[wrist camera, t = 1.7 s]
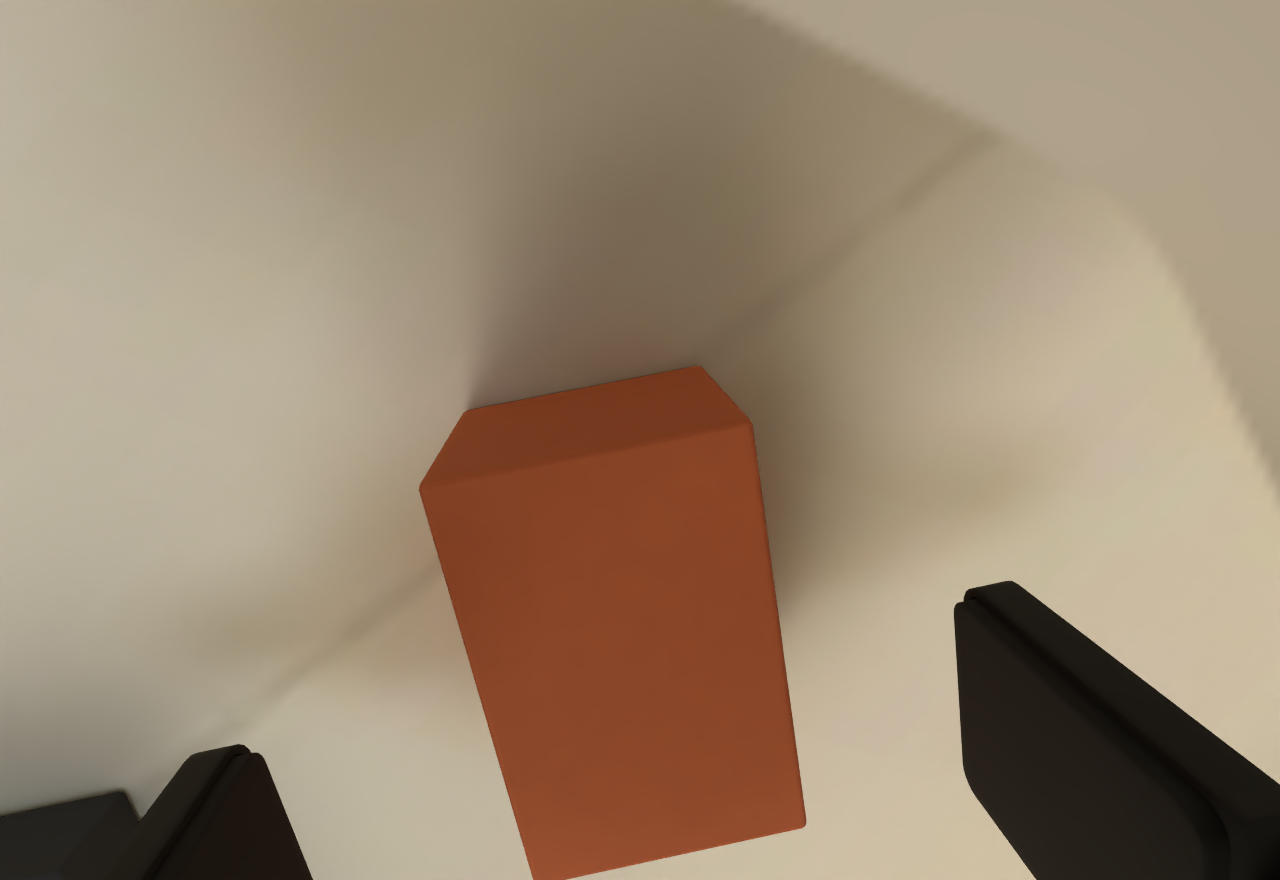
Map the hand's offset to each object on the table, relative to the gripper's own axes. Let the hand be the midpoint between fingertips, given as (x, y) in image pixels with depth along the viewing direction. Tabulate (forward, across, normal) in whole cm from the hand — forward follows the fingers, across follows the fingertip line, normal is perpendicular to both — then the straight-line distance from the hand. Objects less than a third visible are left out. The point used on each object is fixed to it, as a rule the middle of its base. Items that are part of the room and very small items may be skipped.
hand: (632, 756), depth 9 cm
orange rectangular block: (+5, 0, 0) cm, 5 cm away
